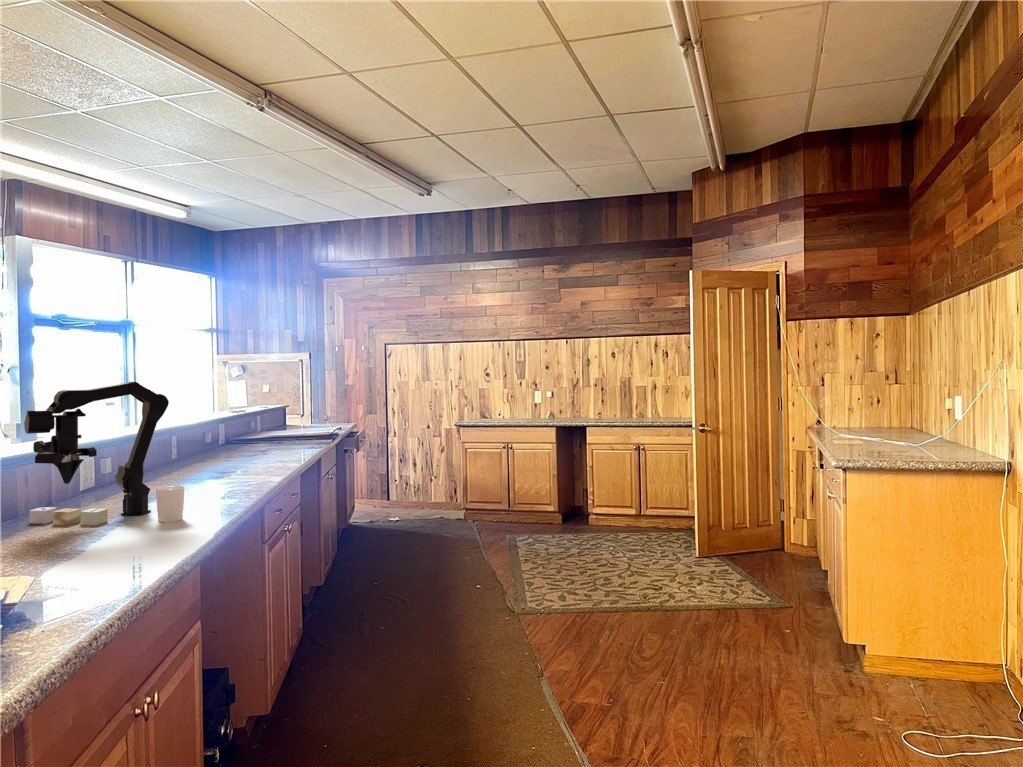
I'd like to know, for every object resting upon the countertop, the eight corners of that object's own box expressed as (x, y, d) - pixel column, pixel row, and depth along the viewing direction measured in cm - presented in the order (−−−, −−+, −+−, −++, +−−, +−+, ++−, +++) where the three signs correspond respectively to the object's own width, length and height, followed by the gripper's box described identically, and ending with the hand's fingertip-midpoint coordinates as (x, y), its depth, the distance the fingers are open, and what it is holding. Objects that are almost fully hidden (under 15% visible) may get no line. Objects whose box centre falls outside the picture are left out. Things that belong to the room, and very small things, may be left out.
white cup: (150, 521, 214) (150, 488, 214) (173, 516, 221) (173, 484, 221) (167, 523, 210) (167, 491, 210) (190, 519, 217) (190, 487, 217)
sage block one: (107, 521, 213) (107, 508, 213) (96, 525, 208) (96, 511, 208) (91, 521, 213) (91, 508, 213) (80, 525, 208) (80, 511, 208)
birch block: (80, 521, 213) (80, 508, 213) (68, 525, 208) (68, 512, 208) (65, 521, 213) (65, 508, 213) (53, 524, 208) (53, 511, 208)
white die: (57, 520, 214) (57, 507, 214) (45, 524, 209) (45, 510, 209) (42, 520, 215) (42, 506, 215) (29, 523, 210) (29, 510, 210)
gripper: (64, 428, 220) (64, 478, 220) (17, 434, 202) (17, 488, 202) (97, 429, 219) (97, 479, 219) (53, 434, 200) (53, 489, 201)
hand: (66, 483), depth 210 cm, fingers closed
